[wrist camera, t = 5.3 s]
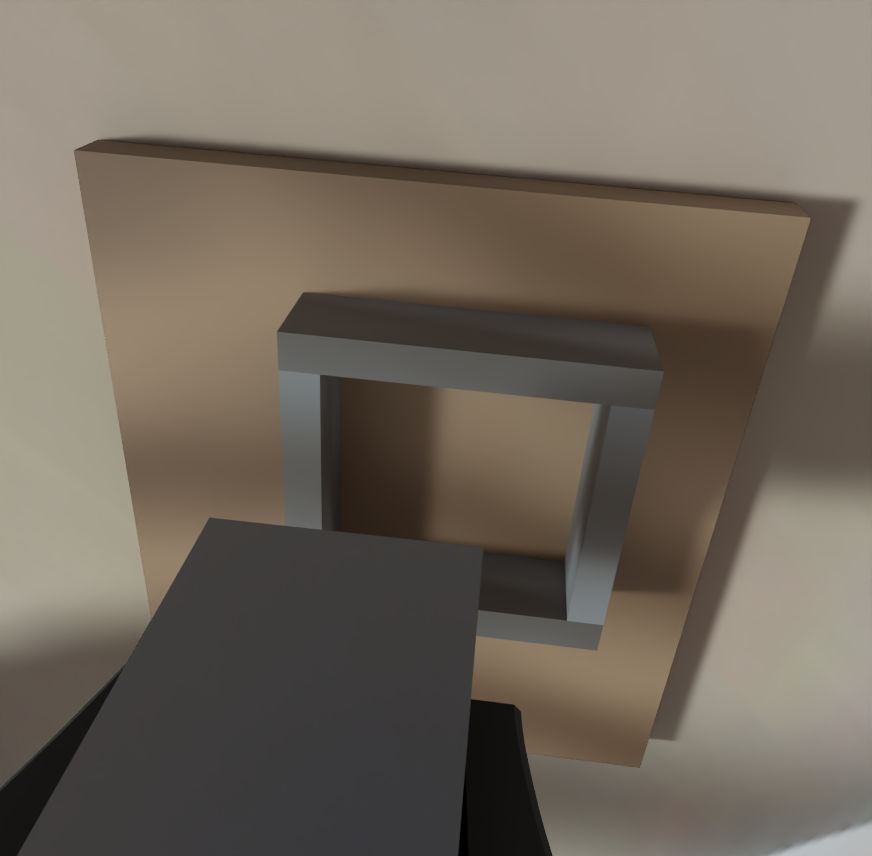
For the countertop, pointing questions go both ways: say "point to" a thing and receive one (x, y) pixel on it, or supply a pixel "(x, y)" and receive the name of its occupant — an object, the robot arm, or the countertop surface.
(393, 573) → the plug
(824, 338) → the countertop surface
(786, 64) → the countertop surface
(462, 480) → the charging dock
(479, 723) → the robot arm
